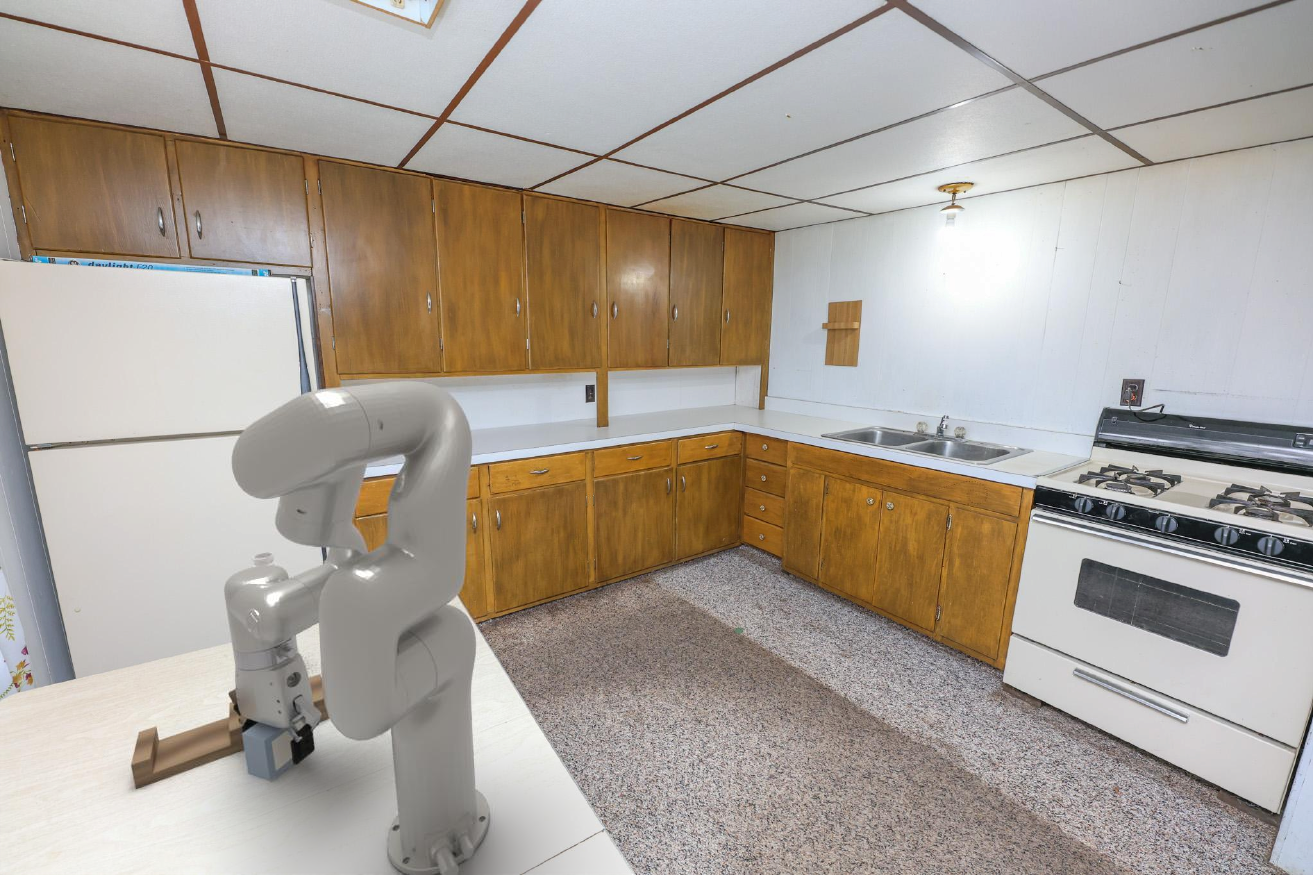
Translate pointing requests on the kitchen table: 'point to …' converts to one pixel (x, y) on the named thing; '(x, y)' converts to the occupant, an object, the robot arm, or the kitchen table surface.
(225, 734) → the wooden divided rack
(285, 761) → the blue-grey rectangular block
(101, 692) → the kitchen table surface
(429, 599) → the robot arm
